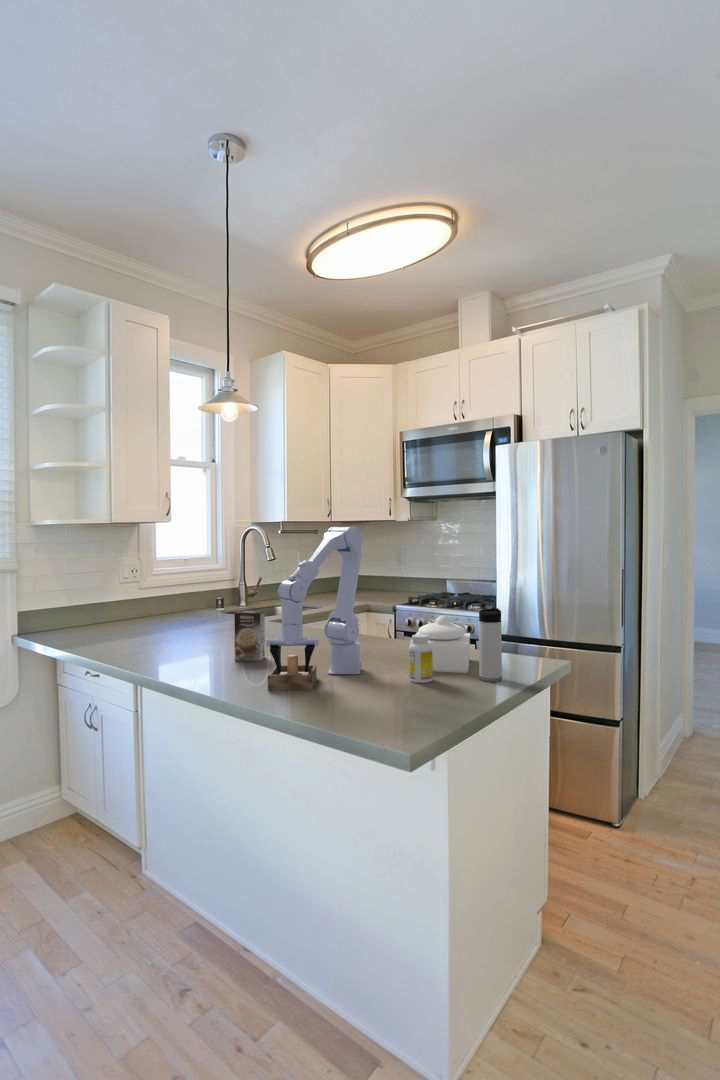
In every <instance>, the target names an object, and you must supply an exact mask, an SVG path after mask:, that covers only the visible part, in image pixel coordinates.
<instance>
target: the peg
mask: <svg viewBox="0 0 720 1080" xmlns="http://www.w3.org/2000/svg"><path fill="white" fill-rule="evenodd" d="M286 657H287V659H286V661H287V662H286V663H287V664H286V665H287V670H288V675H298V665H299V655H298V654H288V655H287V656H286Z"/></svg>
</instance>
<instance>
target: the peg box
mask: <svg viewBox="0 0 720 1080" xmlns="http://www.w3.org/2000/svg"><path fill="white" fill-rule="evenodd" d="M317 675H318V674H317V664H309V668H308V672H305V664H298V675H288V670H287V664H281V672H280V673H278V672H277V667H276V664H275V665H274V666H273V667H272V669H271V670H270V672H269V673H268V674H267V691H313V689H314V686H315V683H316V681H317V679H318V678H317Z"/></svg>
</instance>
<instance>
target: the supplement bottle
mask: <svg viewBox="0 0 720 1080" xmlns="http://www.w3.org/2000/svg"><path fill="white" fill-rule="evenodd" d="M415 634H416V633H415ZM415 634H412V636H411V640H412V641H413V644H411V645H410V646H409V645H408V646H409V647H408V678H409V681H410V682H411V683H417V684H428V683H430V682H432V681H433V677H434V676H433V672H434V671H433V665H432V646H431V645H430V644H428V640H429V636H428V635H424V634H416V635H415Z"/></svg>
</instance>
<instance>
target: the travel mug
mask: <svg viewBox="0 0 720 1080" xmlns="http://www.w3.org/2000/svg"><path fill="white" fill-rule="evenodd" d="M502 633H503V632H502V610H501V609H499V608H497V607H492V608H487V609H486V608H485V609H482V610H479V611H478V654H479V656H478V658H479V660H478V661H479V662H478V665H479V666H478V667H479V669H478V673H479V674H478V675H479V677H478V679H479V680H480V681H483V682H487V683H498V682H497V681H499V682H501V681H502V680H503V673H502V672H503V670H502V669H503V667H502V665H503V662H502V661H503V657H502V655H503V653H502V648H503V647H502V646H503V645H502V644H503V643H502V642H503V641H502Z"/></svg>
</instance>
